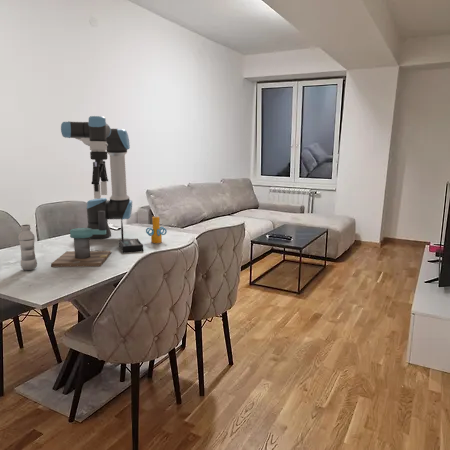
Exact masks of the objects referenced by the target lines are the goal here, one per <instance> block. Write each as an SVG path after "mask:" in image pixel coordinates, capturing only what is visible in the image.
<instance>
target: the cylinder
mask: <svg viewBox="0 0 450 450" xmlns="http://www.w3.org/2000/svg"><path fill="white" fill-rule="evenodd" d="M151 219H152V227H147V228H146V229H145V233H146V234H147V235H148V236H149V237H150V240H151V241H150V242H151V243H152V244H160V243H162V242H163V238H162V237H163V236H165V235H166V234H167V231H168V230H167V229H166V227H165V228H164V226H161V225H160V224H161V223H160V216H158V215H155V216H152V217H151ZM150 231H151V232H150Z"/></svg>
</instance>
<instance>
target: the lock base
mask: <svg viewBox="0 0 450 450" xmlns="http://www.w3.org/2000/svg"><path fill="white" fill-rule="evenodd" d="M90 243H91V242H90V238H89V237H88V238H73V247H74V250H73V251H72V250H69V251H67V250H66V251H65V252H63V253H62V254H61V255H60V256H59V257H57V258H56V259H55V260H53V262H51V263H50V266H51V267H52V268H53V267H54V268H56V267H57V268H58V267H59V268H60V267H61V268H62V267H70V268H71V267H101V266H102V265H103V264H104V263H105V262H106V260H107V259H108V258H109V256H110V255H111V253H112V251H111V250H91V244H90Z"/></svg>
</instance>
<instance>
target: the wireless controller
mask: <svg viewBox="0 0 450 450" xmlns="http://www.w3.org/2000/svg"><path fill="white" fill-rule="evenodd" d="M120 222H121V223H120V234H121V237H120V238H121V239H118V247H119V249H120V250H121V252H122V253H123V254H127V253H128V254H129V253H137V252H139V253H140V252H144V244H143V243H142V242H141V241H140V240H139V238H127V239H125V238H124V225H123V223H124V222H123V220H122V215H121V219H120Z"/></svg>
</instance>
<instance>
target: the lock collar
mask: <svg viewBox="0 0 450 450" xmlns="http://www.w3.org/2000/svg"><path fill="white" fill-rule="evenodd" d="M98 222H99V229H91V228H87V227H77V228H72V229H70V230H69V236H70V238H71V239H74V238H88V237H91V236H92V234H106V221H105V211H98Z"/></svg>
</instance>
